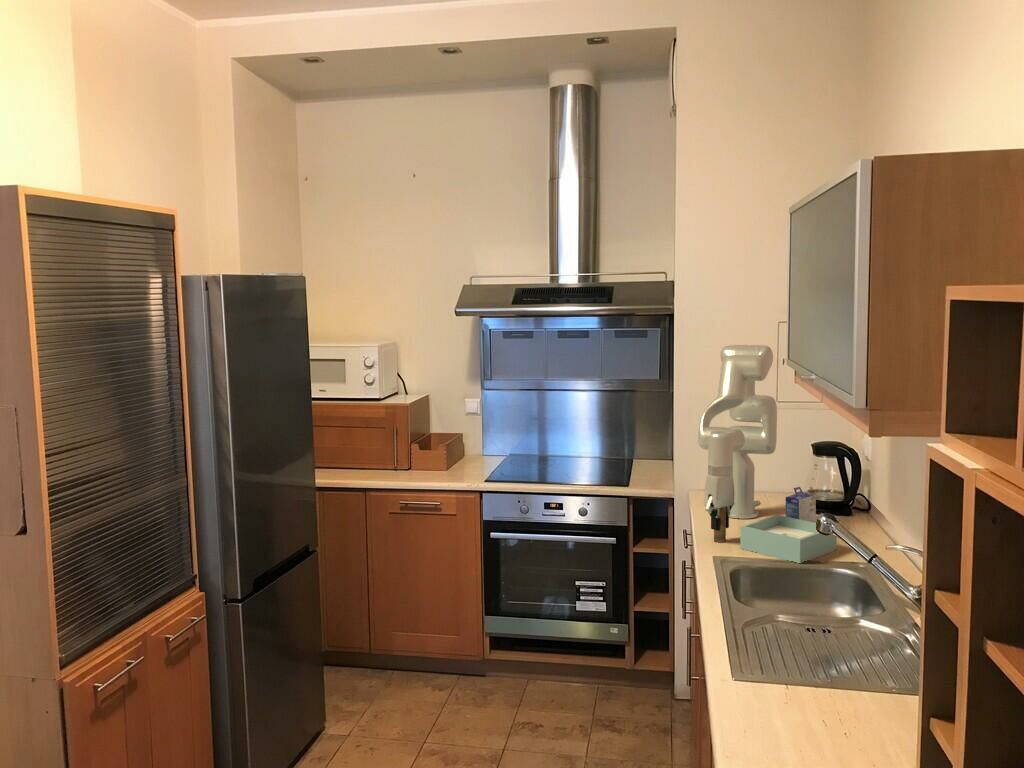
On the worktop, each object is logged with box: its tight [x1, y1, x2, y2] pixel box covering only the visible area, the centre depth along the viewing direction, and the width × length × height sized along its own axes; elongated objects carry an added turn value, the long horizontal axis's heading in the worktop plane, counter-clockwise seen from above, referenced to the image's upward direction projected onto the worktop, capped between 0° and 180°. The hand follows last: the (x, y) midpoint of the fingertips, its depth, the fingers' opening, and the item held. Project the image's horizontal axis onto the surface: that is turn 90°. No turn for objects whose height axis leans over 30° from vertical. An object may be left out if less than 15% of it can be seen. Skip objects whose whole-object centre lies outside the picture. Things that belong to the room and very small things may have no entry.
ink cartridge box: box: [785, 486, 817, 523], centre depth 269 cm, size 10×6×14 cm, turn 129°
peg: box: [713, 507, 727, 544], centre depth 259 cm, size 4×4×12 cm
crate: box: [739, 514, 838, 564], centre depth 250 cm, size 20×20×7 cm
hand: (719, 527), depth 260 cm, fingers closed on peg, 3 cm apart
